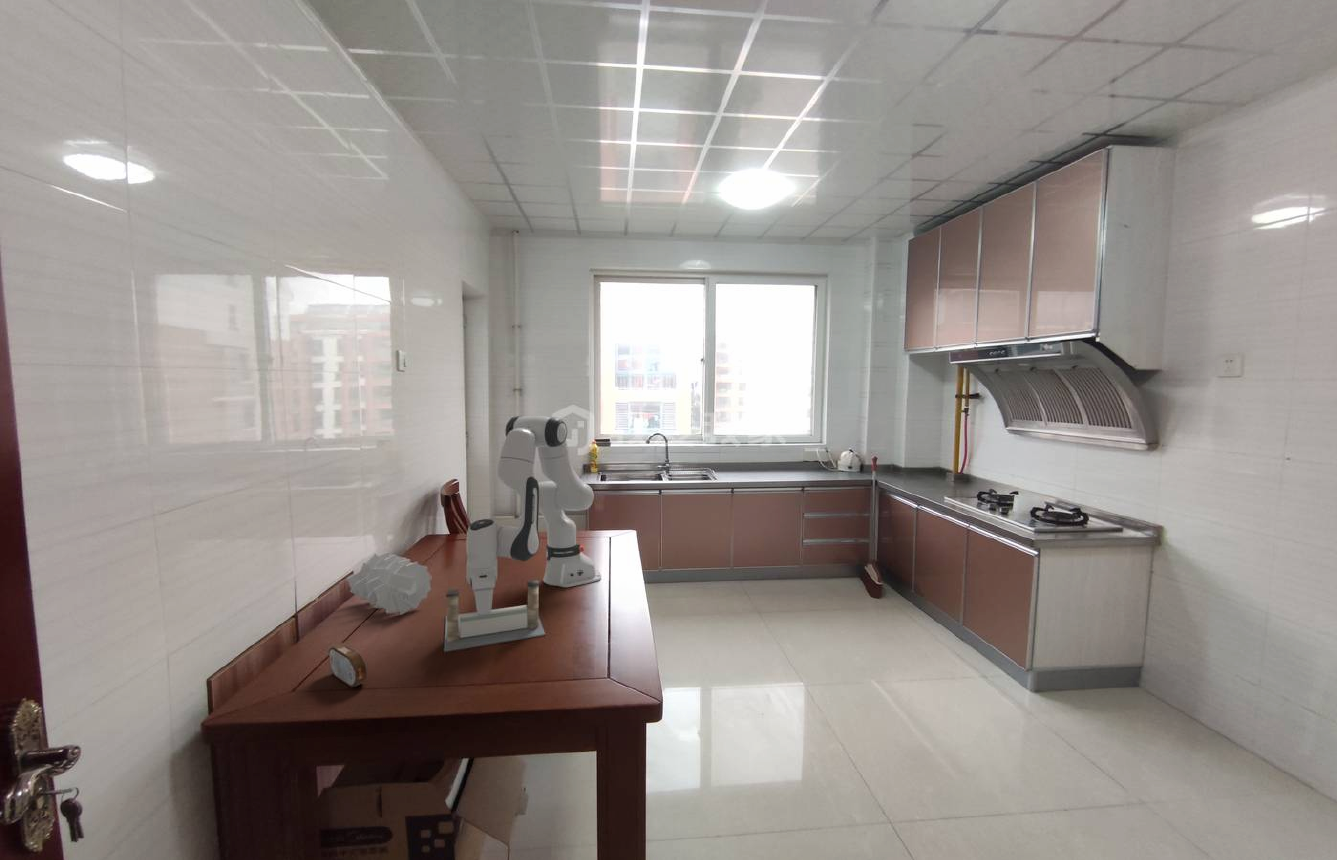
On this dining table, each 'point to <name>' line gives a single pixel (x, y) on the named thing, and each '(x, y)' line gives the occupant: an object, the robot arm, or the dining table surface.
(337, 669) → the tin
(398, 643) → the dining table surface
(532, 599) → the gate posts
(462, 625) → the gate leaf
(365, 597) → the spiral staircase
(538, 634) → the mat
